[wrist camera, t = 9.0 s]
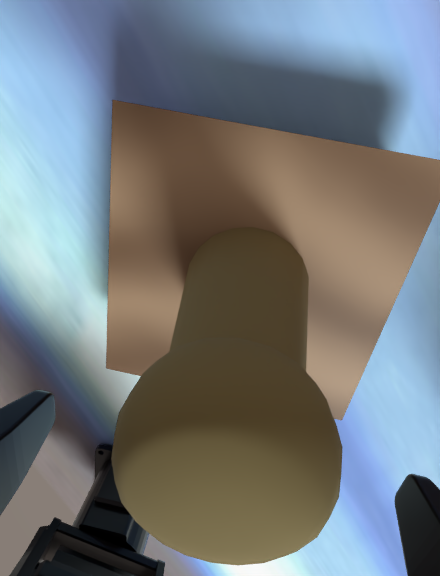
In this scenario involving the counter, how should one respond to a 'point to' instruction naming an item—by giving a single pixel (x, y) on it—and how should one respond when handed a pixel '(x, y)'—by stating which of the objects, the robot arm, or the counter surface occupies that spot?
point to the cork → (232, 413)
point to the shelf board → (264, 215)
